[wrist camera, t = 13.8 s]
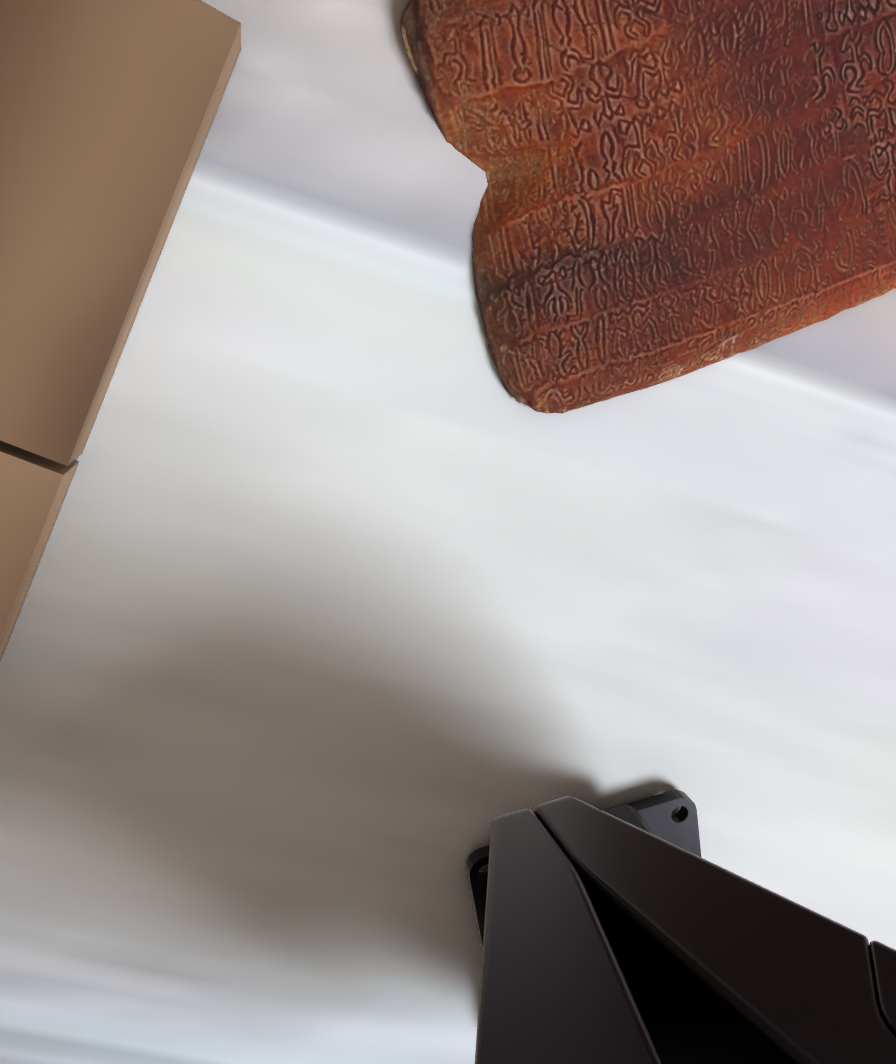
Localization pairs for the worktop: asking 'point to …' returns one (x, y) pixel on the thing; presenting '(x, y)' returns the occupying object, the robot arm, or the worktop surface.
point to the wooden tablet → (663, 176)
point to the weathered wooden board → (85, 222)
